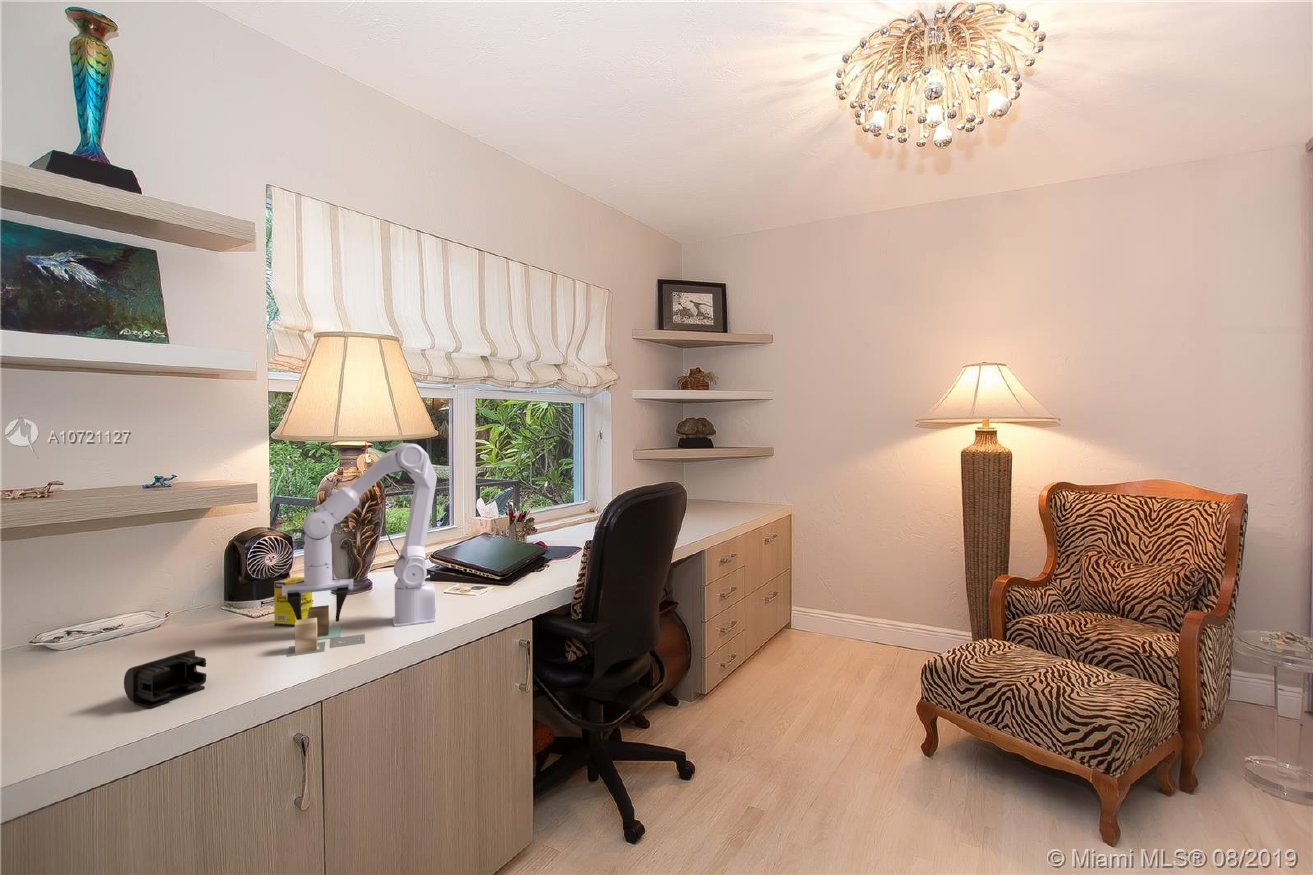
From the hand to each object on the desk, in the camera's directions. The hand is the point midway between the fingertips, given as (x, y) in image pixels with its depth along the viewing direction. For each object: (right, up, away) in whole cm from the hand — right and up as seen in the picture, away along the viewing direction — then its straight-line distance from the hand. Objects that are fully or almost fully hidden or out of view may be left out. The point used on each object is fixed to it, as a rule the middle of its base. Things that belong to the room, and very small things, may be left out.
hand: (318, 622), depth 147 cm
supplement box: (-11, -3, +9) cm, 15 cm away
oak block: (+3, -3, -10) cm, 11 cm away
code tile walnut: (+9, -3, -5) cm, 10 cm away
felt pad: (0, -3, 0) cm, 3 cm away
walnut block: (0, -3, 0) cm, 3 cm away
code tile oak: (+3, -3, -10) cm, 11 cm away
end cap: (-9, -4, -33) cm, 35 cm away
